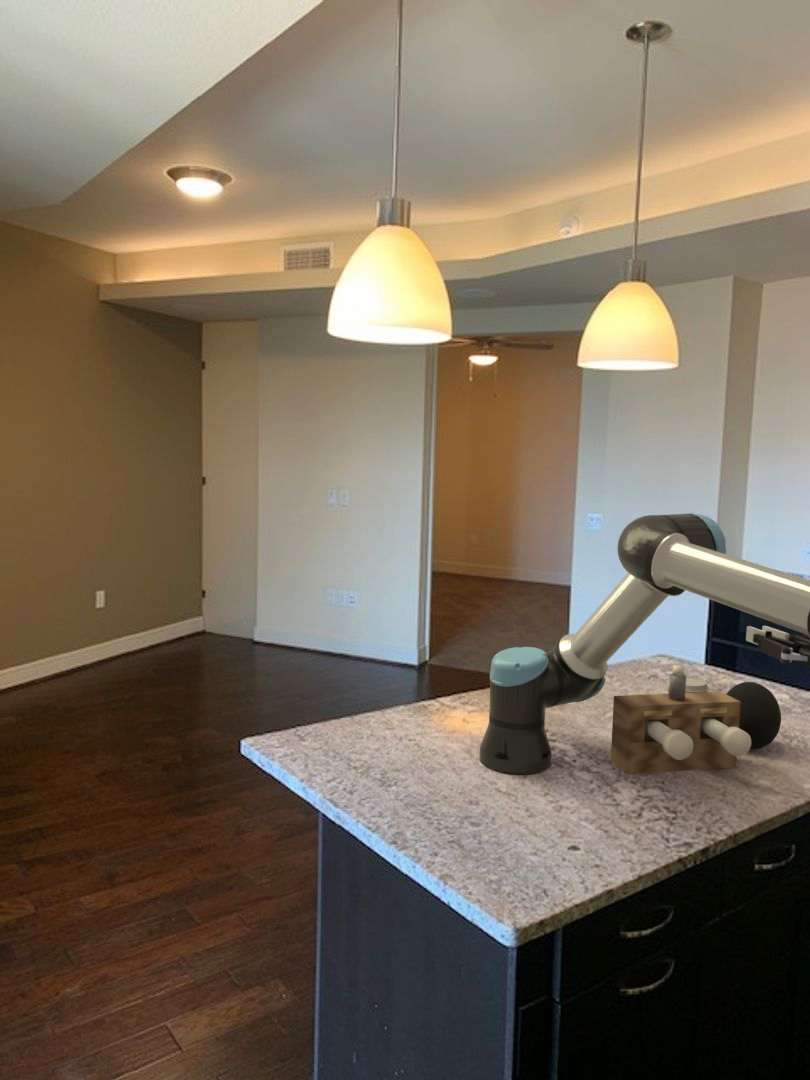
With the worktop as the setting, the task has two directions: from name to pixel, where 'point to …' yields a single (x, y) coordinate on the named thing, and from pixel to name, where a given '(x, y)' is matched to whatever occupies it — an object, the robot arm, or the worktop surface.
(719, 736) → the knob
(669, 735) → the knob
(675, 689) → the grey bottle
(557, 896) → the worktop surface
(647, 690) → the worktop surface
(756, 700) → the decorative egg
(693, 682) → the disposable coffee cup
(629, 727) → the mount
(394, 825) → the worktop surface
